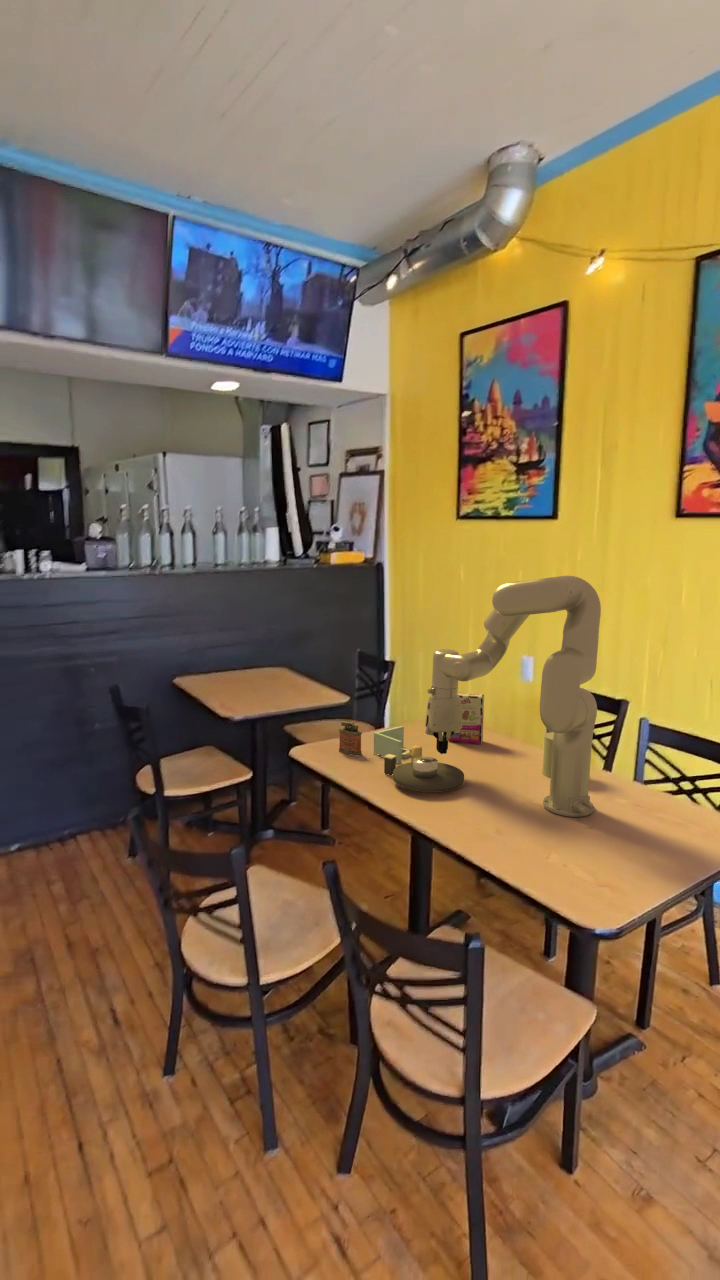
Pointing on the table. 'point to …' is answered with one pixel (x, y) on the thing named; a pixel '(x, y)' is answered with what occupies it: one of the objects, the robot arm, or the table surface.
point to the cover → (425, 767)
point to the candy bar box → (470, 719)
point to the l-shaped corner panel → (391, 743)
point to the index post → (389, 764)
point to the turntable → (442, 782)
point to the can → (547, 754)
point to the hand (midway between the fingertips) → (441, 752)
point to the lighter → (350, 739)
